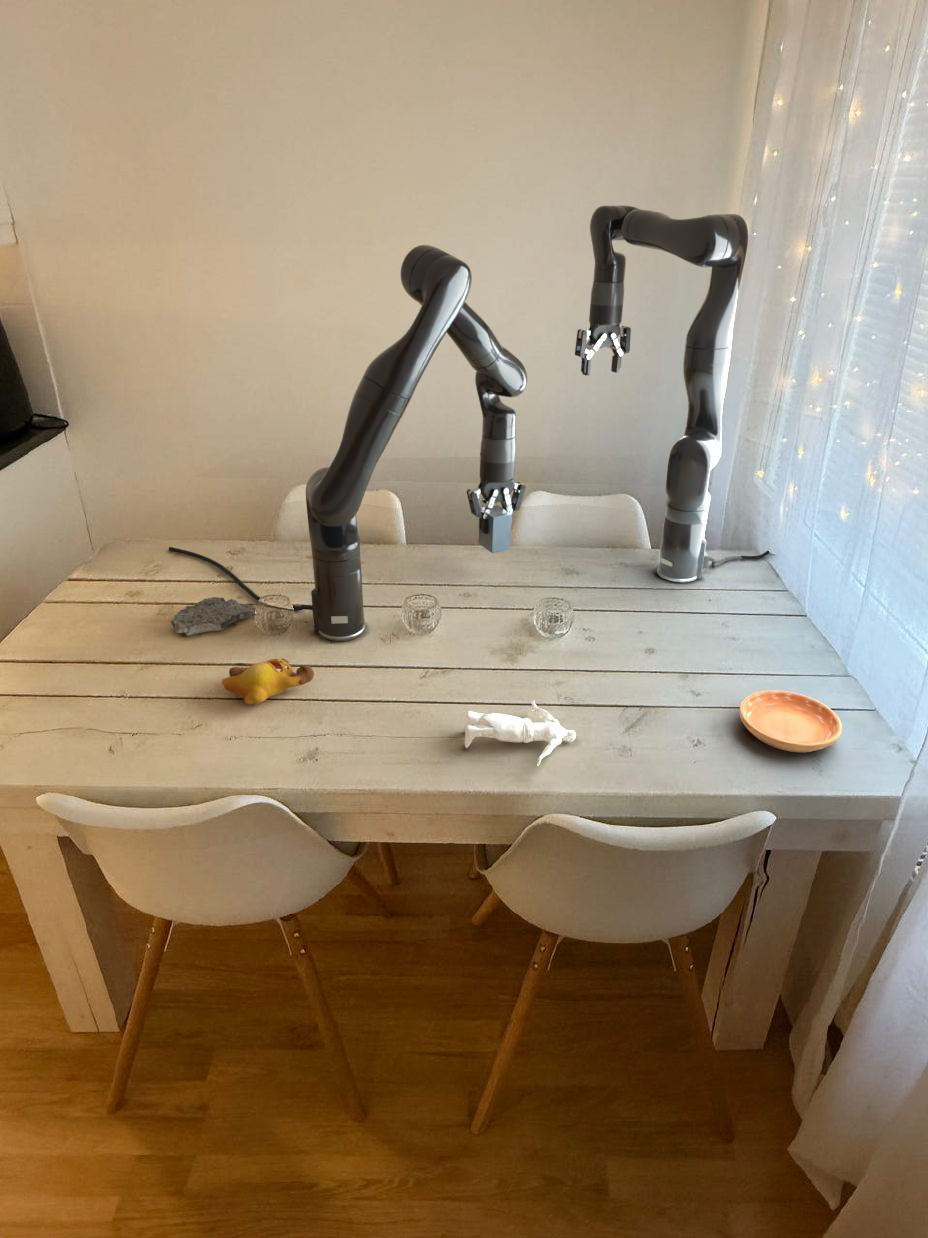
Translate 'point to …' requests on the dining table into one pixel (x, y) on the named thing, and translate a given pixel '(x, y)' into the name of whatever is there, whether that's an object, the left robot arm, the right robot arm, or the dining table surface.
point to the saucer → (790, 721)
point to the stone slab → (210, 615)
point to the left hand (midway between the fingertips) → (494, 530)
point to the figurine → (517, 729)
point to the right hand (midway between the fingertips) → (600, 373)
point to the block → (497, 531)
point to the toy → (265, 679)
